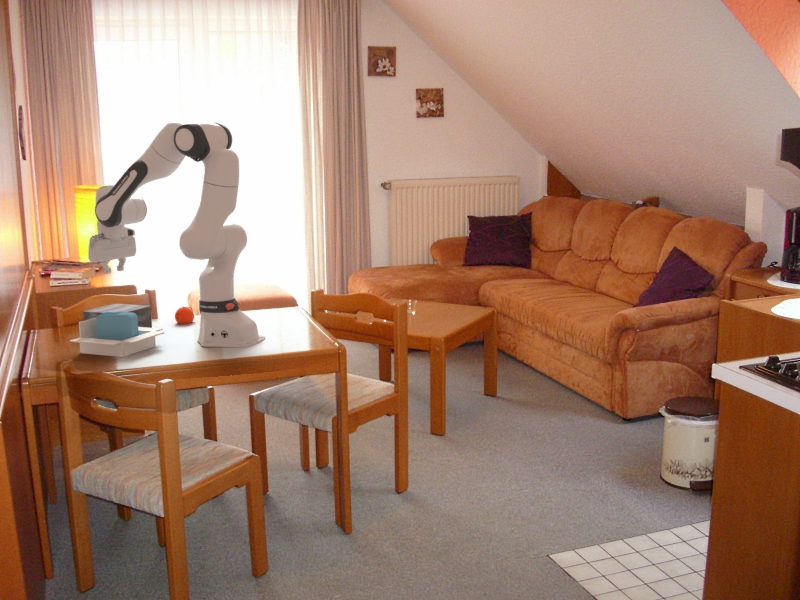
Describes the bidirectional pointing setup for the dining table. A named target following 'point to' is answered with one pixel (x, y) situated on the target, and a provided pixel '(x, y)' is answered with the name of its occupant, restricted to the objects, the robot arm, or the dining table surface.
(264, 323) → the dining table surface
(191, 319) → the clementine
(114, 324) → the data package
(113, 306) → the riser
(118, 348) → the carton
